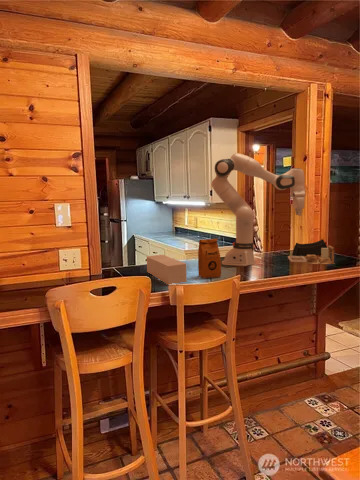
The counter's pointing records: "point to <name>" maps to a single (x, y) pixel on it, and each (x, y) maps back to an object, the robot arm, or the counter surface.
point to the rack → (326, 260)
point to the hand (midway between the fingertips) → (298, 215)
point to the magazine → (309, 248)
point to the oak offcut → (311, 256)
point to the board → (324, 252)
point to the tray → (297, 260)
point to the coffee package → (209, 259)
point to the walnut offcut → (311, 260)
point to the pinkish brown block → (166, 269)
